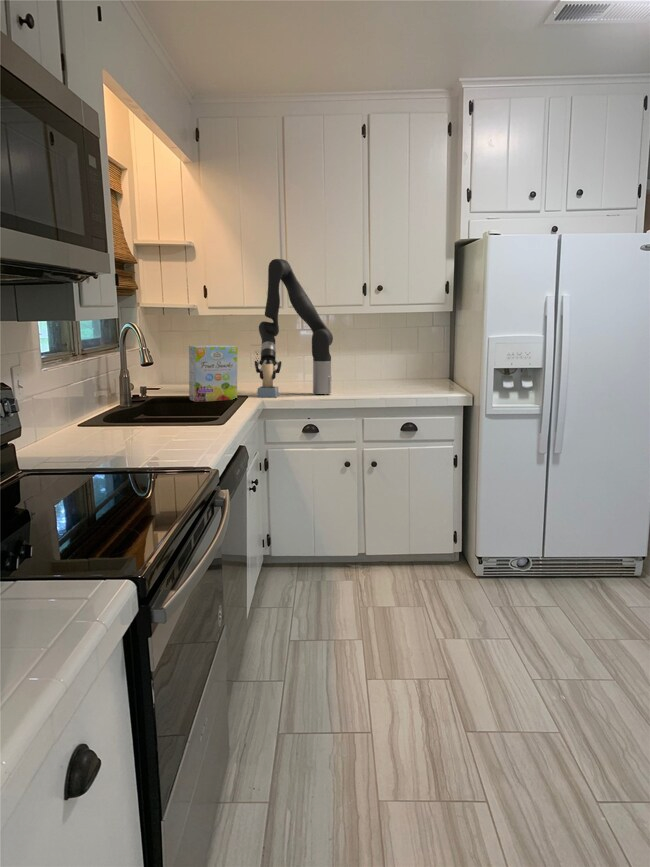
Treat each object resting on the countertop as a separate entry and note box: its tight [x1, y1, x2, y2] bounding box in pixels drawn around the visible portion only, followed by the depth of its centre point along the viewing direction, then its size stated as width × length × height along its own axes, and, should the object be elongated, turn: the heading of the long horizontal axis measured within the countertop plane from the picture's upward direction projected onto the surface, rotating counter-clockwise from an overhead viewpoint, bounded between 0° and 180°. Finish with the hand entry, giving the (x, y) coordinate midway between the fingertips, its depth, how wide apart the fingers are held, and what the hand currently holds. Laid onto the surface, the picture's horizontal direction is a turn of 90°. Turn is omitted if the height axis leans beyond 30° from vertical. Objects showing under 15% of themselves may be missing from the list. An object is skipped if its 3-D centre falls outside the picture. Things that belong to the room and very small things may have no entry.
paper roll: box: [261, 364, 274, 388], centre depth 308 cm, size 5×5×12 cm
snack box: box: [188, 344, 238, 403], centre depth 292 cm, size 22×9×26 cm, turn 123°
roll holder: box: [256, 386, 281, 399], centre depth 310 cm, size 10×9×4 cm
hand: (267, 378), depth 306 cm, fingers closed on paper roll, 5 cm apart
